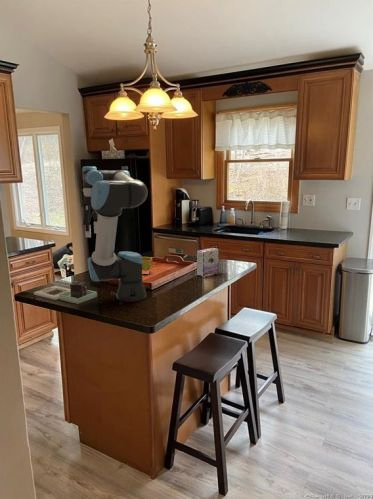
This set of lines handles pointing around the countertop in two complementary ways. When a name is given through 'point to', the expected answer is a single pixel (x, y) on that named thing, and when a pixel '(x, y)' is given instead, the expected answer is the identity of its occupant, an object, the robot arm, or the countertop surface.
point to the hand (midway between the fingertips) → (92, 235)
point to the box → (78, 289)
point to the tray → (68, 298)
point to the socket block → (49, 289)
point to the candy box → (207, 261)
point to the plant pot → (146, 263)
